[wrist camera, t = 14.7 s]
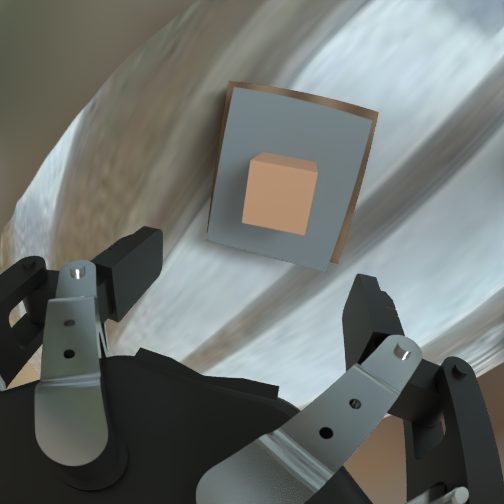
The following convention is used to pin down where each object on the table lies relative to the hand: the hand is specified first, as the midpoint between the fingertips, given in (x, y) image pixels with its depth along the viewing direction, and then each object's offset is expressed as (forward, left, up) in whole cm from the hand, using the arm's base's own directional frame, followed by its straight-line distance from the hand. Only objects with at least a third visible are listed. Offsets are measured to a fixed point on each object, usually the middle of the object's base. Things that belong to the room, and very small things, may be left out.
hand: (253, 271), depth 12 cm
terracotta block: (0, 0, -18) cm, 18 cm away
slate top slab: (0, 0, -22) cm, 22 cm away
